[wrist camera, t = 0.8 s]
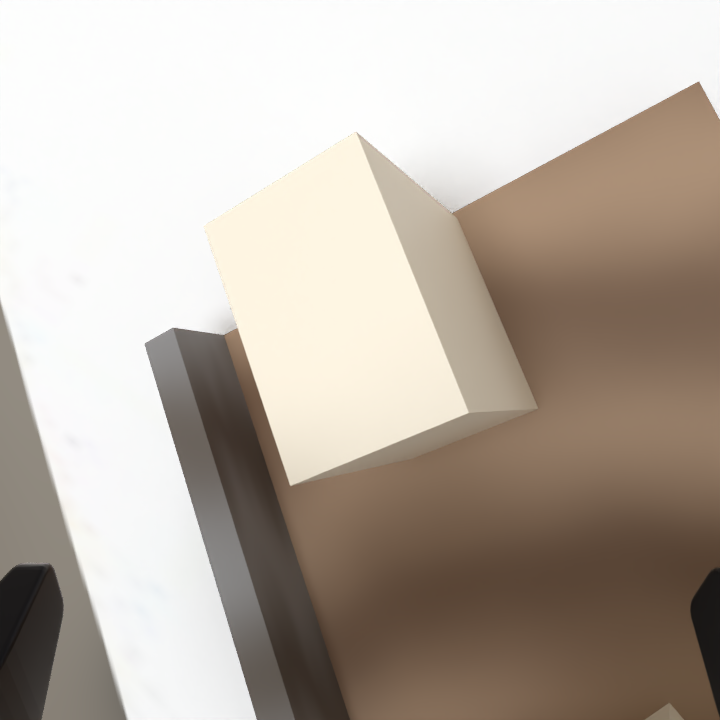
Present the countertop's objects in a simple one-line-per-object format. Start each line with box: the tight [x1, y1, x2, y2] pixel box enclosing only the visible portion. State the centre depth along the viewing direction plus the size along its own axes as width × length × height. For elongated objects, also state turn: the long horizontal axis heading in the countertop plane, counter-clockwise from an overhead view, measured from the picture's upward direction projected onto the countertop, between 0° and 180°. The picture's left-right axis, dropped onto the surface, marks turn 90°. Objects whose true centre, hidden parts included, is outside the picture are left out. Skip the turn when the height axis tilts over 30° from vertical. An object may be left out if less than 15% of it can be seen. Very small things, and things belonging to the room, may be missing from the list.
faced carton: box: [204, 132, 538, 486], centre depth 17 cm, size 4×6×7 cm
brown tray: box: [145, 82, 720, 720], centre depth 18 cm, size 22×17×4 cm
